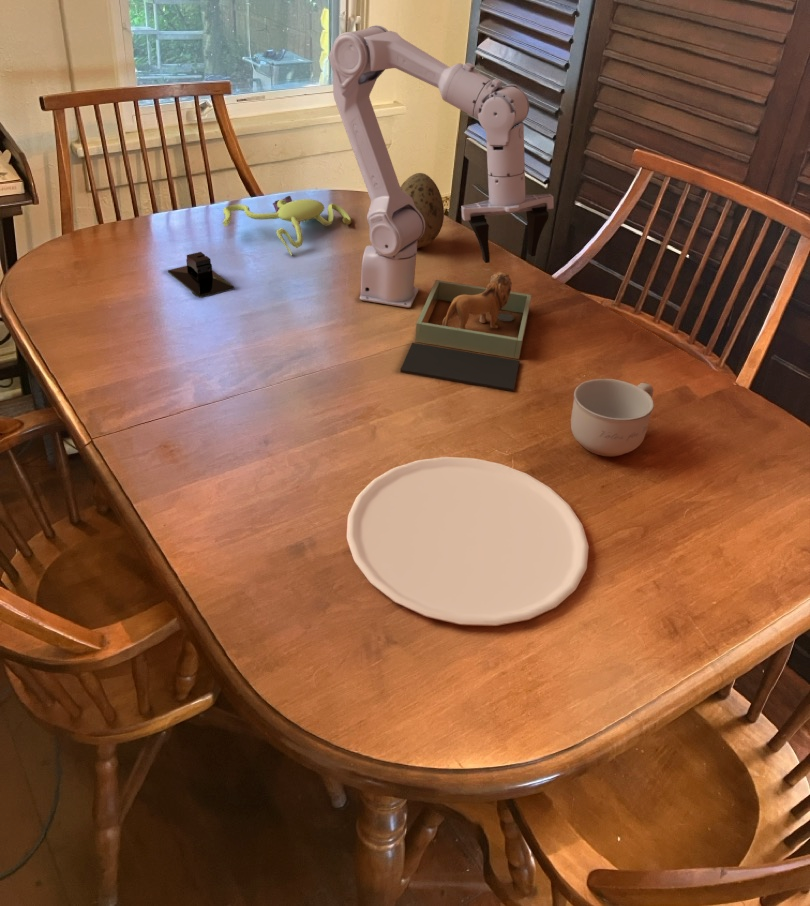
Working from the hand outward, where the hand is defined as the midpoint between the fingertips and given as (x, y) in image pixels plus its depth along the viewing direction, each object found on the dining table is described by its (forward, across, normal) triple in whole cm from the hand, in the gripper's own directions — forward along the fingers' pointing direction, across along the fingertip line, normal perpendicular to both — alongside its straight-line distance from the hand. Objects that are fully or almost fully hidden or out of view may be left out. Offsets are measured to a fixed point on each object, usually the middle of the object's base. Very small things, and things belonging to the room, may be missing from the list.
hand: (509, 257), depth 132 cm
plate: (+17, -18, -50) cm, 56 cm away
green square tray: (+12, -6, +3) cm, 14 cm away
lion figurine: (+12, -6, +3) cm, 14 cm away
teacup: (+18, +7, -31) cm, 37 cm away
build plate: (+3, -53, +20) cm, 57 cm away
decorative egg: (+8, -11, +37) cm, 39 cm away
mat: (+13, -11, -11) cm, 20 cm away
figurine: (+3, -37, +44) cm, 57 cm away
